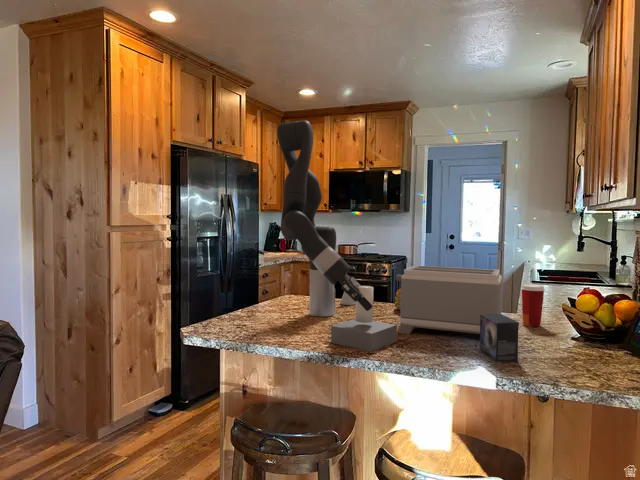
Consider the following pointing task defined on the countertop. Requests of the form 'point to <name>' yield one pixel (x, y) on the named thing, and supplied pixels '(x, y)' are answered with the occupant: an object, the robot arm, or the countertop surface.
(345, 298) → the flask
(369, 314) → the beige piece
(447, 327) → the toaster
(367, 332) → the plinth
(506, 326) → the small box
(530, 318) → the paper cup
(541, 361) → the countertop surface
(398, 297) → the burger
